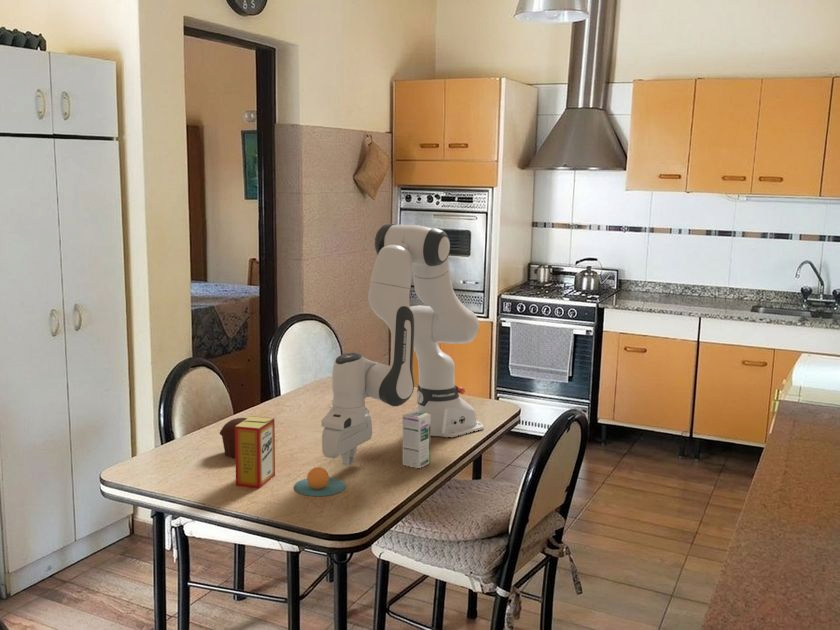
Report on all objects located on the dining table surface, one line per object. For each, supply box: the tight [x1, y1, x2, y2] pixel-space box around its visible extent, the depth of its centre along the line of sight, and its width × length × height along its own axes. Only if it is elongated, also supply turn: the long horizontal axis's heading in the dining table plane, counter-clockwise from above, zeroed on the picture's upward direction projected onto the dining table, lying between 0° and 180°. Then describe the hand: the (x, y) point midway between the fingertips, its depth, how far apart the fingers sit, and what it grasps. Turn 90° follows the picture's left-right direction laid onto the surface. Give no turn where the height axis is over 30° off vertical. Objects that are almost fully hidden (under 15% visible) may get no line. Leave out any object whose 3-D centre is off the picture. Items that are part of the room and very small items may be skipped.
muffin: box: [219, 417, 249, 459], centre depth 232 cm, size 12×11×10 cm
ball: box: [306, 466, 330, 489], centre depth 207 cm, size 6×6×6 cm
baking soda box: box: [234, 415, 276, 489], centre depth 211 cm, size 10×6×16 cm
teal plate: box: [293, 476, 347, 497], centre depth 209 cm, size 13×13×1 cm
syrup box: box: [402, 410, 432, 469], centre depth 226 cm, size 6×6×14 cm
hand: (348, 464), depth 221 cm, fingers closed
